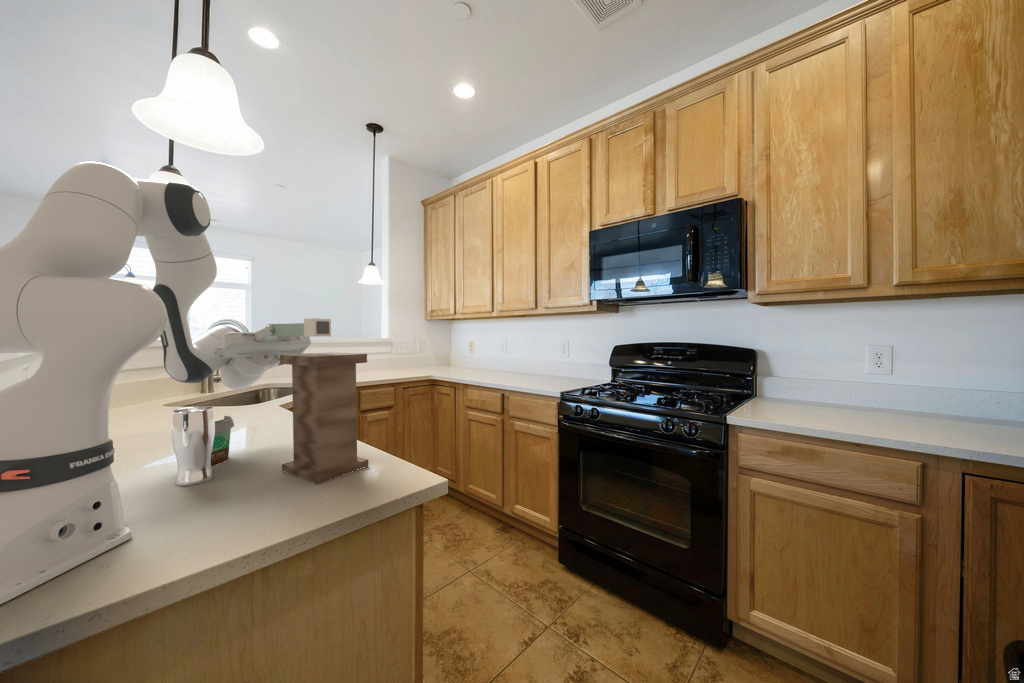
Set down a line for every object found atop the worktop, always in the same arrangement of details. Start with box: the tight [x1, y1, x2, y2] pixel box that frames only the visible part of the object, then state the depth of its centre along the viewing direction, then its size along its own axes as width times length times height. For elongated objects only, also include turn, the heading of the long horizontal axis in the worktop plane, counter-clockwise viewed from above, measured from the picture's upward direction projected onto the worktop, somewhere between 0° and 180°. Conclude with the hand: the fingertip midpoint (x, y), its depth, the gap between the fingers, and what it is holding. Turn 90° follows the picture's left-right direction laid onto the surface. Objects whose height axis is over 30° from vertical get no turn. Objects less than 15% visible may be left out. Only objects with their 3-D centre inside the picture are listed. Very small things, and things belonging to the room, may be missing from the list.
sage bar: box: [266, 317, 332, 337], centre depth 90 cm, size 22×4×4 cm, turn 58°
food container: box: [211, 415, 235, 467], centre depth 89 cm, size 12×6×10 cm, turn 168°
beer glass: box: [170, 405, 216, 487], centre depth 78 cm, size 7×7×15 cm
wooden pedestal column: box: [280, 351, 369, 485], centre depth 85 cm, size 14×12×26 cm
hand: (280, 328), depth 94 cm, fingers closed on sage bar, 3 cm apart
